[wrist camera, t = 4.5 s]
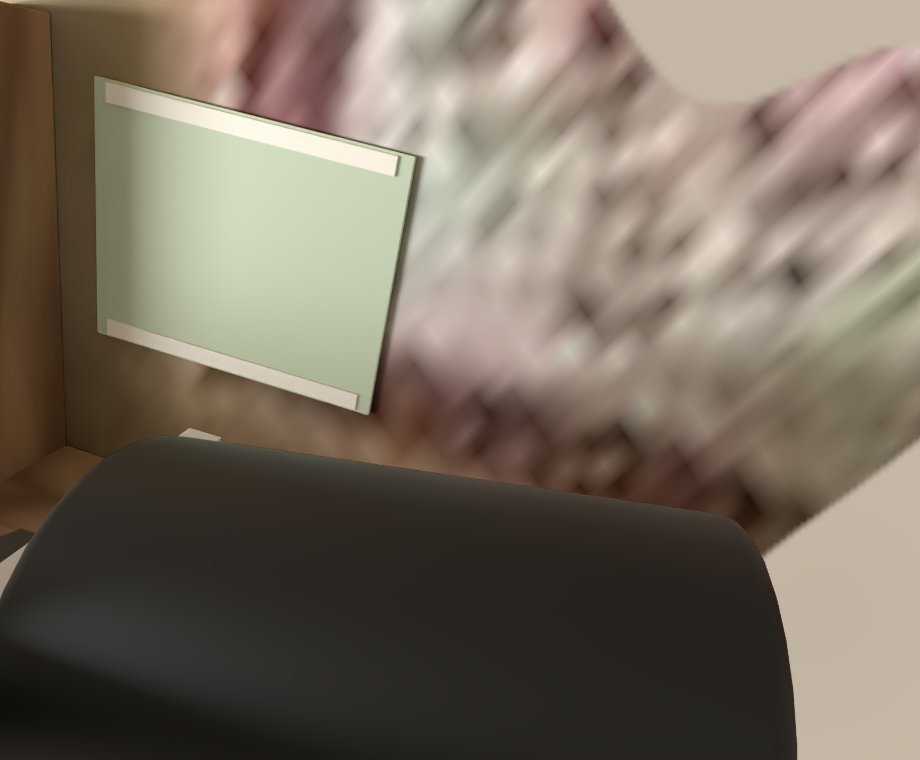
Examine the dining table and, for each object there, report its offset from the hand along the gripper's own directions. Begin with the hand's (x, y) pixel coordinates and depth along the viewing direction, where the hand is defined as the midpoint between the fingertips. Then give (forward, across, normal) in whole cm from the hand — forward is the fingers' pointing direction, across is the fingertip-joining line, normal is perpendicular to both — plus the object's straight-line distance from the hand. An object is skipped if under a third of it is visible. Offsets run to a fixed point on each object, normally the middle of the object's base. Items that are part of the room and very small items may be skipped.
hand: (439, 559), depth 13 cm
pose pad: (+9, -10, +3) cm, 14 cm away
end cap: (+1, 0, 0) cm, 1 cm away
